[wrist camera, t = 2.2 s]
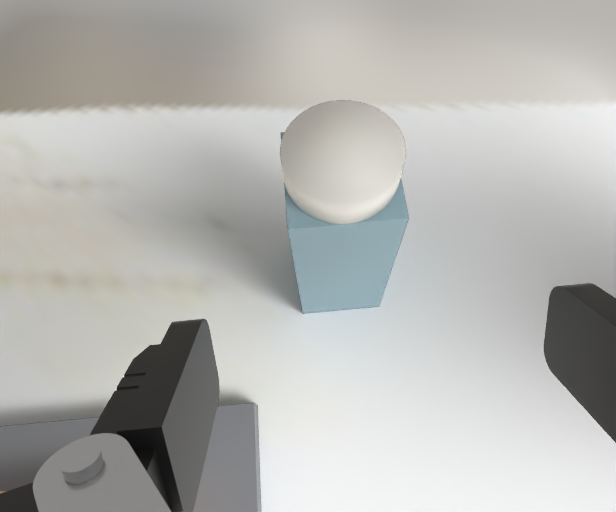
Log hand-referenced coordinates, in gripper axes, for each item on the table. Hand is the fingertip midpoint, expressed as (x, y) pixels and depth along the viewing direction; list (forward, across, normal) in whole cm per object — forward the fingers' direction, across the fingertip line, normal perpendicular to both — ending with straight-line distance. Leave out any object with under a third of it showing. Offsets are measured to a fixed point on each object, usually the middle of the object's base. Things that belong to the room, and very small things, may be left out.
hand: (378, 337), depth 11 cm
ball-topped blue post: (+15, 0, +5) cm, 16 cm away
